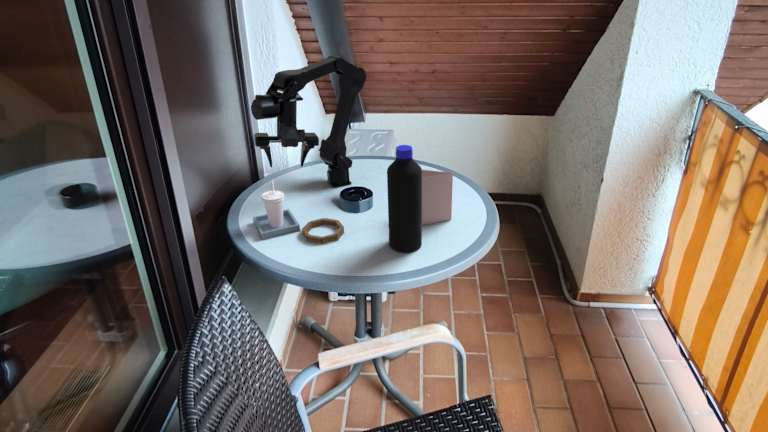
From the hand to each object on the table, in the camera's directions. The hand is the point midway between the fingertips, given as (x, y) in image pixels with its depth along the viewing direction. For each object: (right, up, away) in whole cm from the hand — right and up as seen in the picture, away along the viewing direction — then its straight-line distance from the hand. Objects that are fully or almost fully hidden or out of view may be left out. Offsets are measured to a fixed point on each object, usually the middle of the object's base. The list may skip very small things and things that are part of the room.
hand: (286, 166), depth 165 cm
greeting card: (+43, -17, -8) cm, 47 cm away
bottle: (+36, -23, -18) cm, 46 cm away
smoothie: (-1, -18, -8) cm, 19 cm away
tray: (-2, -18, -8) cm, 20 cm away
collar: (+13, -20, -12) cm, 27 cm away
